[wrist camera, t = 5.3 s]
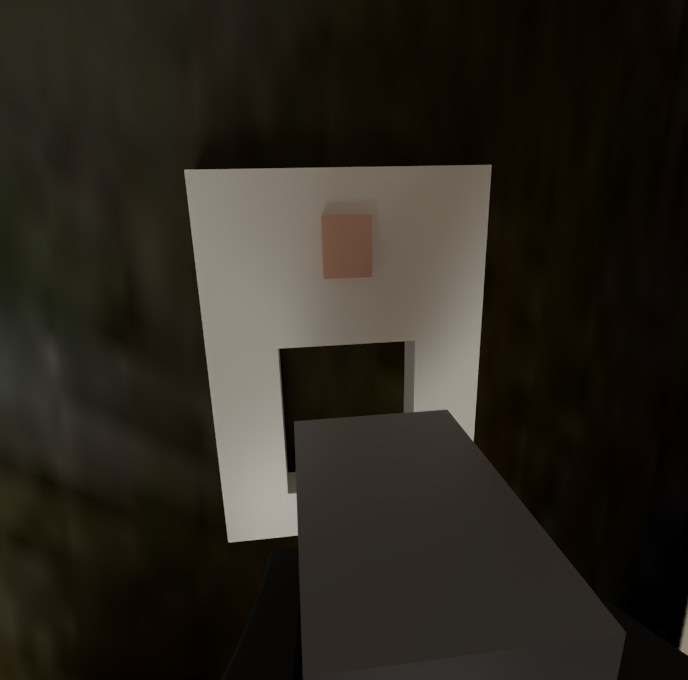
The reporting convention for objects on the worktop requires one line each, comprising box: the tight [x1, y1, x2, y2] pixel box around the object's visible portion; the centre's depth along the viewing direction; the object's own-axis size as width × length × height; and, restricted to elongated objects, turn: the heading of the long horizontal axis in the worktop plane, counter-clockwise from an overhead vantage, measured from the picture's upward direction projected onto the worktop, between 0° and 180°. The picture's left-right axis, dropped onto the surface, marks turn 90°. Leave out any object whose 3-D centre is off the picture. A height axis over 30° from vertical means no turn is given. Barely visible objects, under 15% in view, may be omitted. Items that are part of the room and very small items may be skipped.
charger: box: [294, 410, 626, 680], centre depth 9 cm, size 5×4×6 cm
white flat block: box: [184, 165, 492, 543], centre depth 17 cm, size 14×10×2 cm
